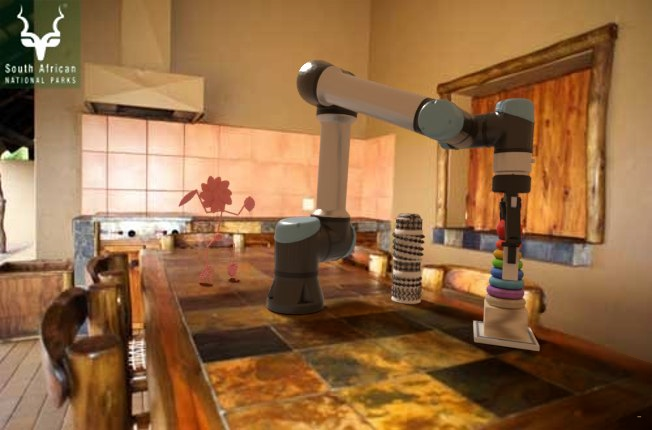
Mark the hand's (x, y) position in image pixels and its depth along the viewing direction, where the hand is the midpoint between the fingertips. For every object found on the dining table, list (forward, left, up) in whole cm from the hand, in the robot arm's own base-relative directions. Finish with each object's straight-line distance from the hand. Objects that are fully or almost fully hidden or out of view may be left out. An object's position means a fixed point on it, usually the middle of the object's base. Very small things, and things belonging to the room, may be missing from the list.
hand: (506, 273), depth 85 cm
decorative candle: (-24, +22, -14) cm, 35 cm away
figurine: (-88, +20, -14) cm, 91 cm away
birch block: (0, 0, -13) cm, 13 cm away
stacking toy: (0, 0, -7) cm, 7 cm away
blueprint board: (0, 0, -14) cm, 14 cm away
